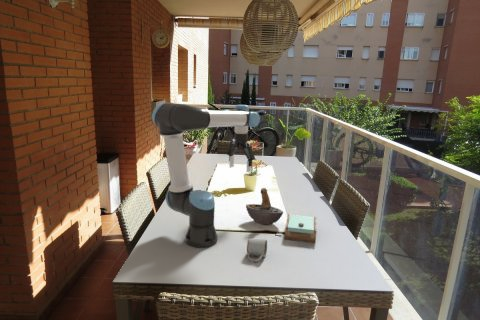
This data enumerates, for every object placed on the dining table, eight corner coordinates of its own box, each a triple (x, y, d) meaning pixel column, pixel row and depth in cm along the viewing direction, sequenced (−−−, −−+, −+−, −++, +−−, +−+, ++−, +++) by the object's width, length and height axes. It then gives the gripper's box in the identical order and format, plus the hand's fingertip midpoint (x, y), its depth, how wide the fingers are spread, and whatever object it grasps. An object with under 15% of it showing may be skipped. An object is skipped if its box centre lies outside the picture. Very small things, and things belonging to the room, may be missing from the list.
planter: (244, 219, 192) (245, 184, 187) (271, 216, 198) (273, 182, 193) (254, 230, 178) (256, 193, 174) (283, 226, 184) (286, 190, 180)
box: (315, 242, 167) (316, 230, 165) (284, 239, 170) (285, 227, 168) (315, 227, 184) (316, 216, 183) (287, 224, 187) (287, 213, 185)
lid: (313, 234, 166) (314, 228, 165) (287, 231, 168) (288, 225, 168) (313, 220, 182) (313, 215, 181) (289, 218, 184) (290, 212, 184)
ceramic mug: (249, 249, 158) (249, 234, 156) (267, 252, 156) (267, 236, 154) (244, 261, 148) (244, 245, 146) (263, 264, 146) (264, 247, 144)
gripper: (262, 135, 189) (260, 172, 193) (230, 129, 205) (229, 164, 210) (253, 136, 183) (251, 175, 188) (221, 130, 200) (220, 166, 205)
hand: (239, 169), depth 199 cm, fingers open, 13 cm apart
